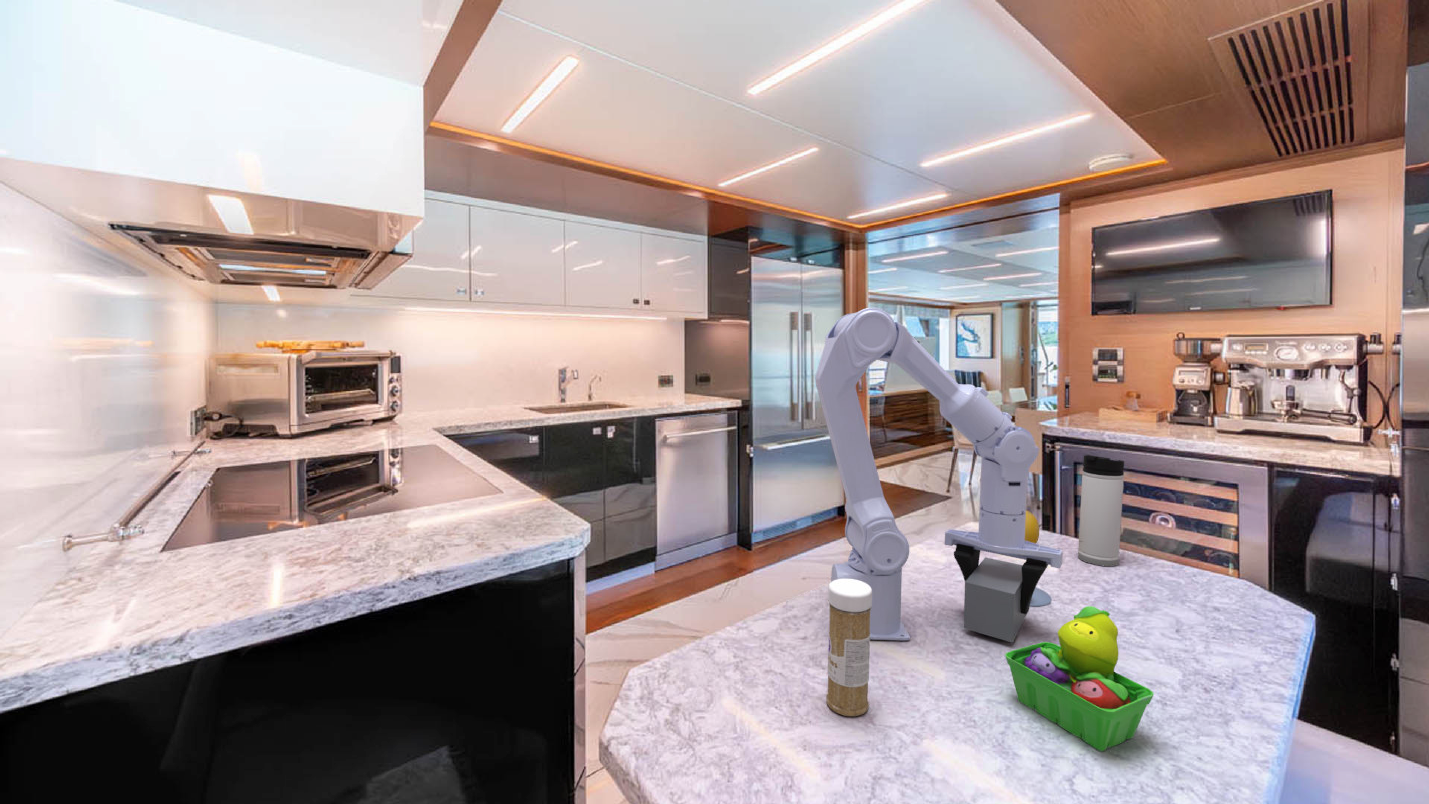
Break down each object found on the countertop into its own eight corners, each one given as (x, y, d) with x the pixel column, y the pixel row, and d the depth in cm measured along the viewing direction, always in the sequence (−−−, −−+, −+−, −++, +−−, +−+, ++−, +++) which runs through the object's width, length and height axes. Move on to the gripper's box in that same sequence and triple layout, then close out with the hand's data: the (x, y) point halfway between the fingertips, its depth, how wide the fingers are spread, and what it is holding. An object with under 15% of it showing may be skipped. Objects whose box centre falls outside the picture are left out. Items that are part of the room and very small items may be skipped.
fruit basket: (998, 697, 62) (1003, 599, 61) (1051, 678, 65) (1056, 585, 64) (1106, 765, 51) (1113, 648, 50) (1162, 739, 55) (1169, 629, 54)
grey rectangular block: (1012, 642, 72) (1014, 594, 71) (963, 628, 75) (964, 582, 75) (1028, 610, 80) (1030, 566, 79) (984, 599, 84) (985, 557, 83)
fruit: (1044, 558, 104) (1046, 517, 104) (997, 554, 107) (998, 513, 106) (1033, 543, 113) (1034, 505, 112) (989, 539, 115) (990, 502, 114)
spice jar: (821, 694, 62) (823, 577, 61) (860, 691, 62) (863, 576, 61) (833, 720, 57) (836, 595, 56) (876, 717, 58) (879, 593, 57)
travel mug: (1068, 556, 105) (1073, 453, 104) (1094, 553, 107) (1100, 451, 106) (1100, 568, 99) (1106, 458, 98) (1126, 564, 101) (1133, 456, 100)
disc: (1003, 605, 84) (1003, 604, 84) (977, 582, 93) (977, 580, 93) (1063, 607, 84) (1063, 605, 84) (1032, 583, 93) (1032, 582, 93)
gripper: (1067, 512, 75) (1062, 609, 76) (956, 495, 84) (953, 582, 85) (1059, 524, 70) (1054, 628, 71) (941, 505, 79) (938, 597, 80)
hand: (998, 604), depth 78 cm, fingers closed on grey rectangular block, 6 cm apart
